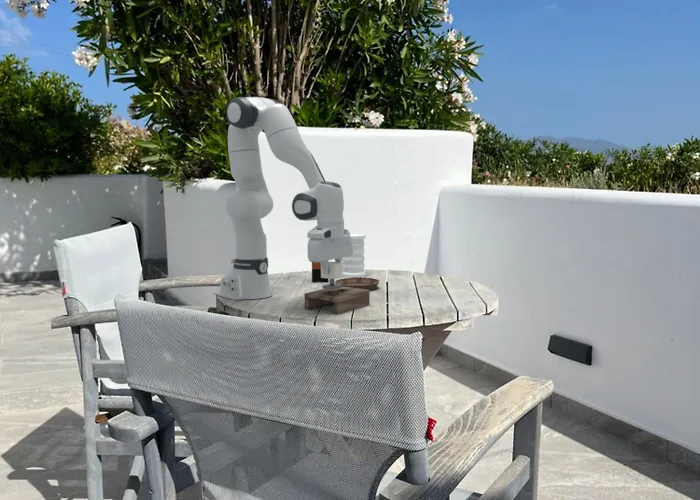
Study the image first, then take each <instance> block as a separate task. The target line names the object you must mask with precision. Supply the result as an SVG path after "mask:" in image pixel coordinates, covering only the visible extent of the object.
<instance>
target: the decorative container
mask: <svg viewBox="0 0 700 500" xmlns="http://www.w3.org/2000/svg"><path fill="white" fill-rule="evenodd" d="M350 236H351V239H352V247H353V253H352V256H348V257H343V258H342V263H343V278H360V277H361V278H365V277H366V276H367V271H365V270H364V268H365V263H364V262H365V239H366V234H364V233H363V234H361V233H360V234H359V233H350Z"/></svg>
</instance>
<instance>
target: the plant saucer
mask: <svg viewBox="0 0 700 500" xmlns="http://www.w3.org/2000/svg"><path fill="white" fill-rule="evenodd" d="M379 283H380V280H379V279H377V278H373V277H343V278H339V279H335V280H334V284H340V285H342V286H343V287H351V288H359V289H367V290H370V291H371V290H374V289H376V288H377V286H379Z"/></svg>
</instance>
